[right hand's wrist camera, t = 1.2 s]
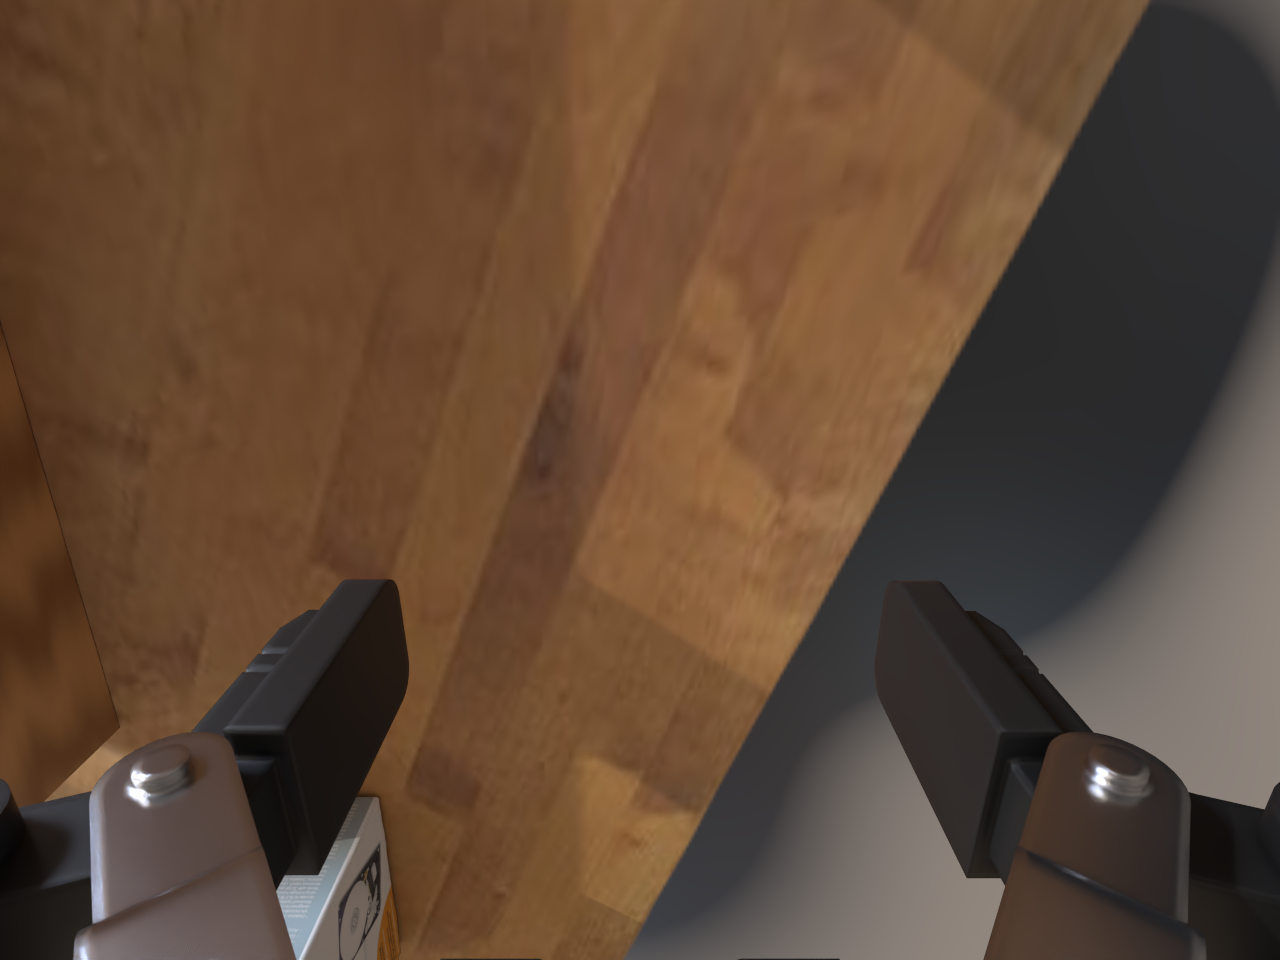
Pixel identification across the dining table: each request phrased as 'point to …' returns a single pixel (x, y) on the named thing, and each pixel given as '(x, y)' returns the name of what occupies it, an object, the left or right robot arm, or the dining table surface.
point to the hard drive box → (345, 896)
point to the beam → (40, 625)
